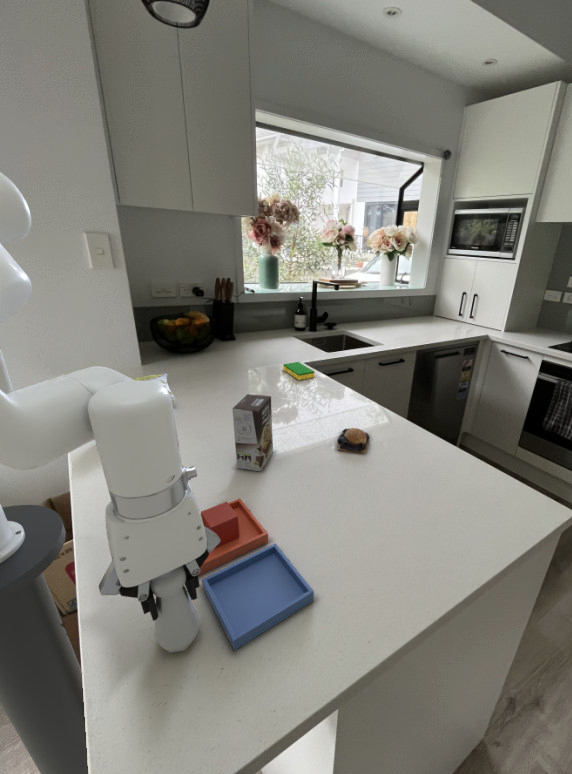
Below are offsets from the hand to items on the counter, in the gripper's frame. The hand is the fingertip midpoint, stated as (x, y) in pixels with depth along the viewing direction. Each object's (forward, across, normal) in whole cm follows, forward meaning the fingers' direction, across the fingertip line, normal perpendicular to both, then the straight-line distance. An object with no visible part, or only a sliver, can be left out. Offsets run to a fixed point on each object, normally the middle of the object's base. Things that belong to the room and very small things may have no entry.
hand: (172, 600), depth 50 cm
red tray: (+8, -12, -15) cm, 21 cm away
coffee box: (+8, -29, -35) cm, 46 cm away
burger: (+8, -55, -28) cm, 62 cm away
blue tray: (+8, -12, 0) cm, 14 cm away
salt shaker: (+8, 0, 0) cm, 8 cm away
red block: (+7, -12, -15) cm, 21 cm away
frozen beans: (+8, -14, -89) cm, 90 cm away
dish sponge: (+8, -71, -83) cm, 109 cm away
